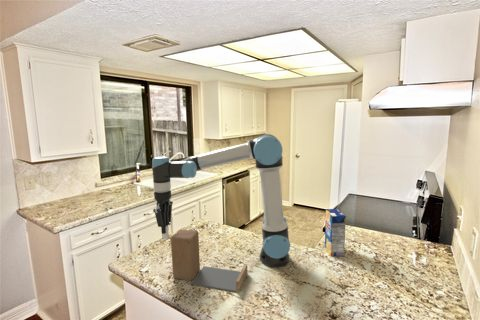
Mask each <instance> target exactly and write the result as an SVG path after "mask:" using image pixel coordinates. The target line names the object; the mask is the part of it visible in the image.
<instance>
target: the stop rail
mask: <svg viewBox="0 0 480 320" xmlns="http://www.w3.org/2000/svg"><path fill="white" fill-rule="evenodd" d="M247 275H248V263H244V264H243V266H242V268H241V270H240V274H239V276H238V278H237V280H236V291H237V292H236V293H240V291H241V289H242V287H243V285H244V283H245V280H246V278H247Z"/></svg>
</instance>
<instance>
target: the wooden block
mask: <svg viewBox="0 0 480 320" xmlns="http://www.w3.org/2000/svg"><path fill="white" fill-rule="evenodd" d="M199 238H200V236H199V231H198V230H193V229H179V230H177V231H176V232H175V234H173V236H171V238H170V243H171V244H170V247H171V264H172V276H173V277H172V278H174V279H178V280H185V281H186V280H187V281H193V280H194V278H195V277H196V276H197V274H198V273H199V272H200V270H201V262H200V260H201V259H200V243H199V241H200V240H199Z"/></svg>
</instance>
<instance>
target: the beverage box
mask: <svg viewBox="0 0 480 320" xmlns="http://www.w3.org/2000/svg"><path fill="white" fill-rule="evenodd" d="M346 220H347V216H346V215H345V214H344V213H343V212H342V210H340V209H339V208H326V209H325V227H324V229H325V232H324V247H325V249H326V251H327V254H328V255H329V256H330V257H345V247H346V246H345V243H346V224H347V223H346Z"/></svg>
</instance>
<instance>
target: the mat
mask: <svg viewBox="0 0 480 320" xmlns="http://www.w3.org/2000/svg"><path fill="white" fill-rule="evenodd" d="M240 272H241V270H240V271H239V270H231V269H225V268H218V267H212V266H205V265H204V266H202V268H200V269H199V271H198V273H197V274H196V276H195V277H194V279H193V280H191V282H190V285H192V286H197V287H203V288H210V289H217V290H221V291H226V292H228V291H229V292H232V293H233V292H234V293H238V292H237V291H236V280H237V278H238V276H239V274H240Z"/></svg>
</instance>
